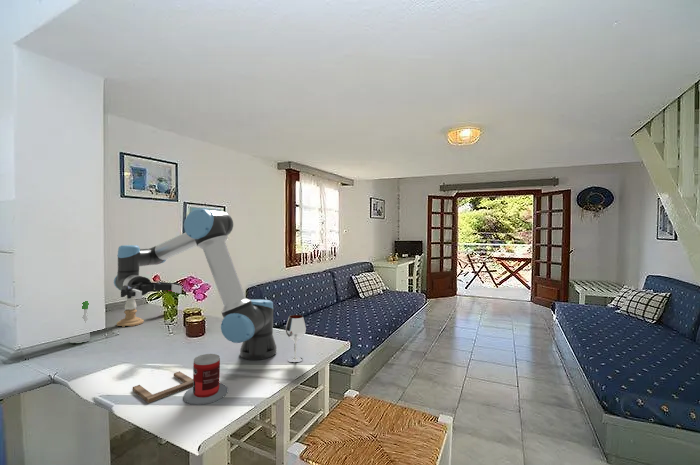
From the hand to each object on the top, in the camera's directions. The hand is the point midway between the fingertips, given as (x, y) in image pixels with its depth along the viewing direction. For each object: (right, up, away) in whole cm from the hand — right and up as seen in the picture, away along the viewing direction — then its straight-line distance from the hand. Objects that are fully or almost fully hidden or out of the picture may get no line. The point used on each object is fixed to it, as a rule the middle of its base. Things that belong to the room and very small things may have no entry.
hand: (161, 292), depth 116 cm
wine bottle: (-56, -29, +31) cm, 70 cm away
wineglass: (+46, -31, +16) cm, 58 cm away
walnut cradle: (+6, -30, -9) cm, 32 cm away
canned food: (+22, -30, -12) cm, 39 cm away
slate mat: (+22, -31, -12) cm, 40 cm away
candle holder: (-52, -29, +59) cm, 84 cm away
